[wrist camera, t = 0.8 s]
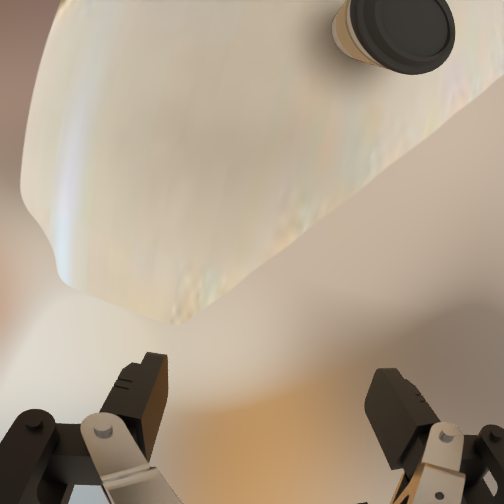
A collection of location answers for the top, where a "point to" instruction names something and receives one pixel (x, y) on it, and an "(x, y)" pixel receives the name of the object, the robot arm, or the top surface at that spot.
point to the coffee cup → (396, 33)
